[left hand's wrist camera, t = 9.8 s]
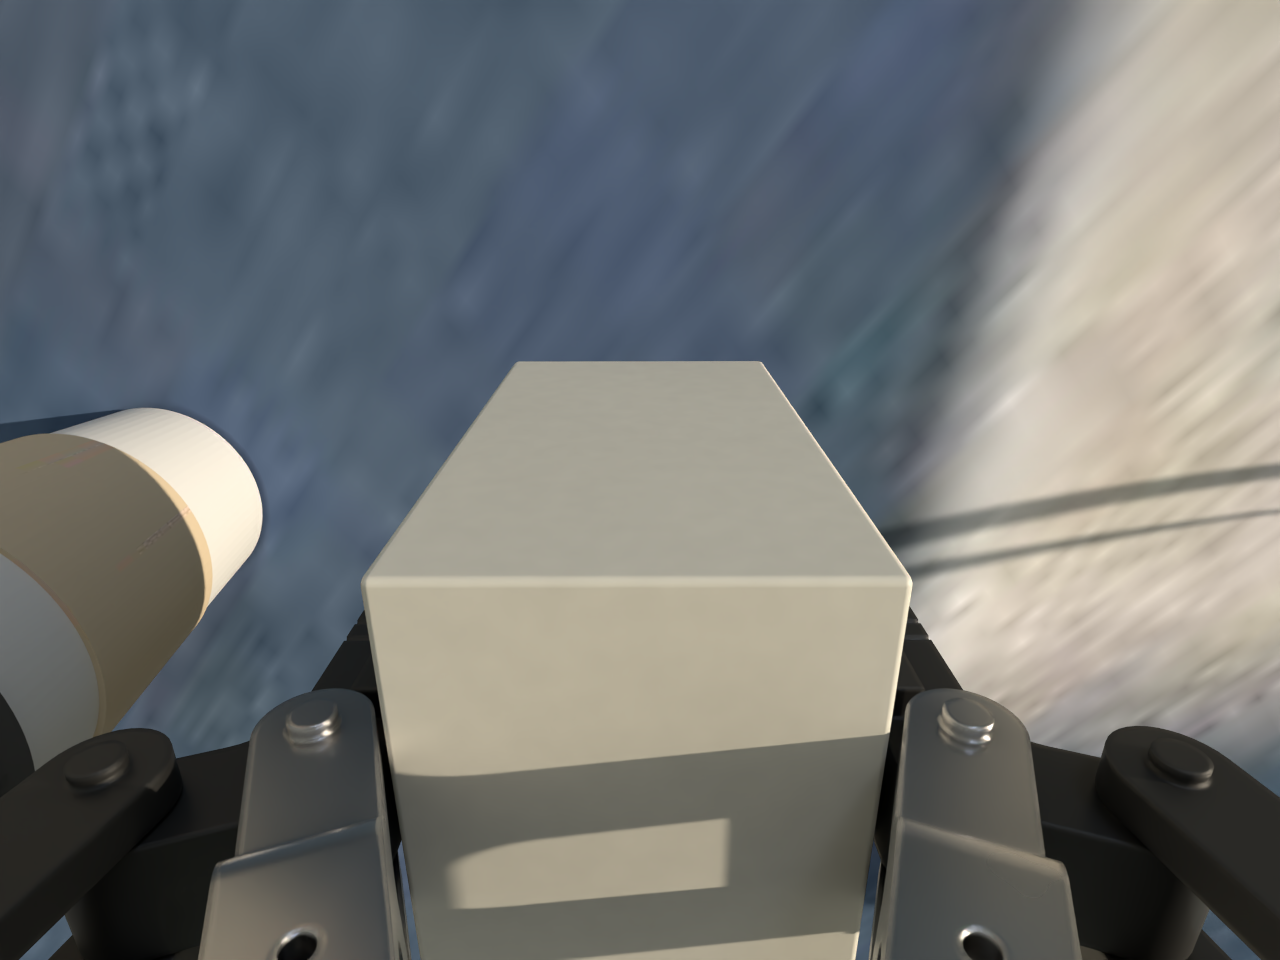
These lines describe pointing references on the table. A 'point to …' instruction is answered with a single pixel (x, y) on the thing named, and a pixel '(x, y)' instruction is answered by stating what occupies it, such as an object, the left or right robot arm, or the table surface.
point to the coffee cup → (107, 568)
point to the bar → (637, 674)
